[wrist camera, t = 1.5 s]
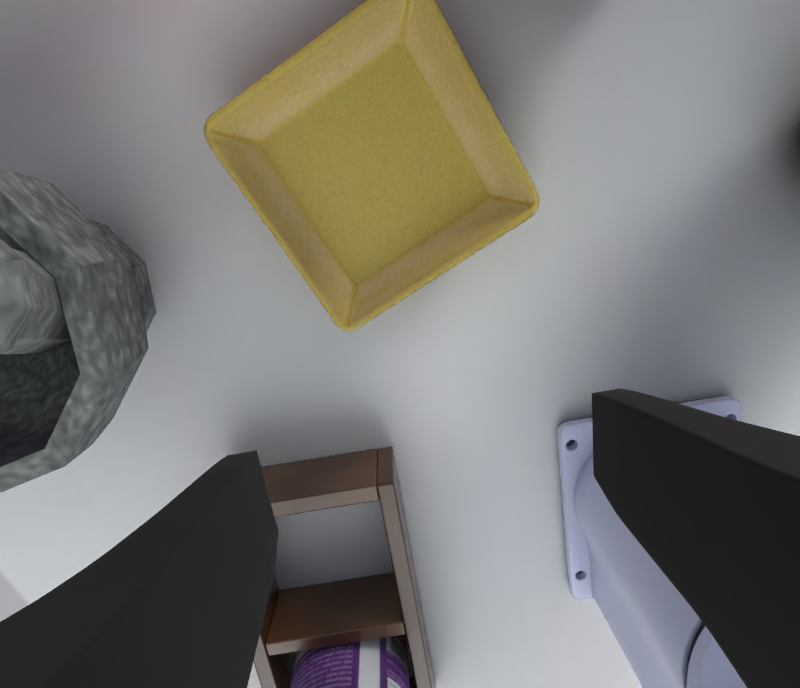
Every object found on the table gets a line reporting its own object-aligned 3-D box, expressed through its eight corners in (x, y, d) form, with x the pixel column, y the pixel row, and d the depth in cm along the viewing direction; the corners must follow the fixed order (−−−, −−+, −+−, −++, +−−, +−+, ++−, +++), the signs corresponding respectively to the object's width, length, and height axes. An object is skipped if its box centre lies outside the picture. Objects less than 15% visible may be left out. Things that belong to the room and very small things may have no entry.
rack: (392, 445, 21) (394, 482, 19) (436, 684, 25) (442, 745, 22) (229, 472, 21) (205, 512, 19) (297, 705, 25) (286, 769, 22)
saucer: (530, 208, 19) (548, 208, 17) (348, 325, 20) (344, 338, 18) (412, -9, 17) (417, -39, 15) (215, 135, 18) (193, 125, 16)
